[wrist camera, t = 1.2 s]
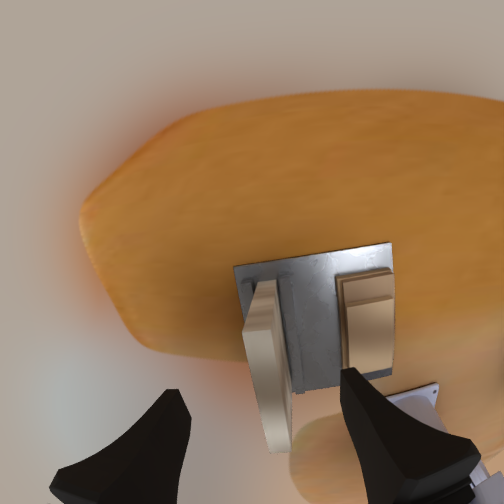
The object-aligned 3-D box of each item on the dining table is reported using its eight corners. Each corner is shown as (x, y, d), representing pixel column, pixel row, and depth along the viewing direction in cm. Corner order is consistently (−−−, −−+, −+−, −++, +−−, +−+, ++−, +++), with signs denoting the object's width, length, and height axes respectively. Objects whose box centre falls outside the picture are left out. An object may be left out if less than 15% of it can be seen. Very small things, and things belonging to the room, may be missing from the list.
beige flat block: (291, 380, 25) (291, 451, 16) (275, 382, 25) (269, 453, 16) (276, 279, 23) (270, 329, 14) (257, 282, 23) (241, 332, 14)
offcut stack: (389, 359, 23) (396, 373, 21) (342, 368, 24) (346, 383, 22) (388, 267, 22) (398, 275, 19) (335, 276, 22) (341, 285, 20)
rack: (390, 372, 24) (396, 384, 22) (260, 393, 26) (258, 405, 24) (389, 241, 22) (398, 246, 20) (234, 266, 24) (229, 272, 22)
